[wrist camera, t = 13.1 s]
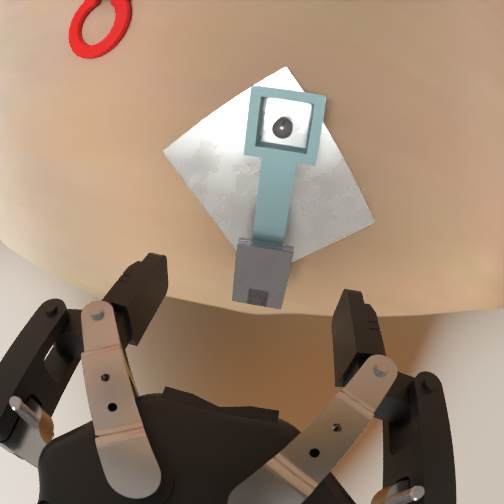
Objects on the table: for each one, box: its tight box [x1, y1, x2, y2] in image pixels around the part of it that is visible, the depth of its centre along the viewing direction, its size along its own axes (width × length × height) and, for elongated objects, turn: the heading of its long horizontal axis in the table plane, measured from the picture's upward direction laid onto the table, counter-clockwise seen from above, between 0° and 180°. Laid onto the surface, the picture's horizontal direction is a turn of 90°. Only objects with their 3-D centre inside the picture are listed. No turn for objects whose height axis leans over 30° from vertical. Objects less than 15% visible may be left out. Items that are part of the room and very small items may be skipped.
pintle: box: [272, 114, 293, 139], centre depth 21 cm, size 1×1×7 cm
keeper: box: [232, 238, 294, 309], centre depth 29 cm, size 7×5×6 cm
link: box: [243, 85, 327, 245], centre depth 26 cm, size 17×6×3 cm, turn 173°
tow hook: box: [69, 0, 131, 58], centre depth 14 cm, size 9×14×10 cm
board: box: [162, 67, 375, 262], centre depth 28 cm, size 15×18×1 cm
